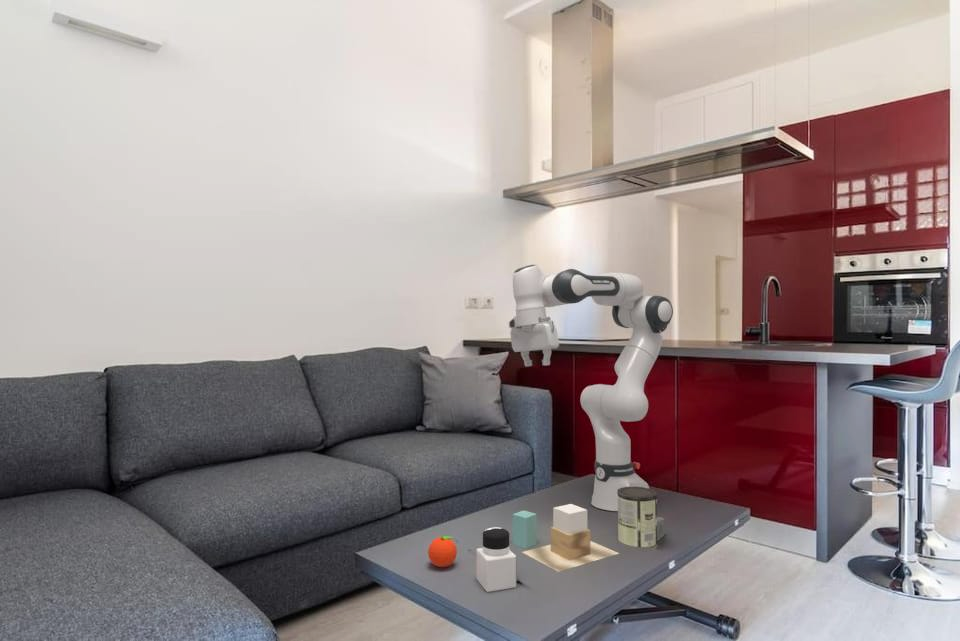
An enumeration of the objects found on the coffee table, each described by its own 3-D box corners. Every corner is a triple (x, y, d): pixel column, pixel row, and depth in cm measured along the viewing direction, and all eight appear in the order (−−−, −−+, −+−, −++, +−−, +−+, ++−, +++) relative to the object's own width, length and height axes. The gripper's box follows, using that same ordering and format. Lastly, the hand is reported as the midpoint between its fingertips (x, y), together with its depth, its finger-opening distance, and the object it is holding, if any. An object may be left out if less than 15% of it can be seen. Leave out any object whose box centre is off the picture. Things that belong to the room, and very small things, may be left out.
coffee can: (628, 534, 160) (628, 484, 160) (664, 543, 153) (663, 491, 153) (610, 544, 152) (610, 491, 152) (646, 555, 145) (646, 499, 145)
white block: (571, 523, 148) (571, 503, 148) (587, 529, 143) (587, 509, 143) (553, 527, 144) (553, 507, 145) (569, 534, 139) (569, 514, 140)
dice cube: (657, 541, 155) (657, 522, 155) (639, 537, 158) (639, 518, 158) (664, 536, 158) (664, 518, 159) (647, 532, 162) (647, 514, 162)
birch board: (580, 541, 155) (580, 536, 155) (619, 558, 143) (619, 553, 143) (521, 556, 144) (521, 552, 144) (558, 576, 132) (558, 571, 132)
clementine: (451, 557, 144) (451, 528, 144) (465, 566, 138) (465, 537, 138) (423, 564, 139) (423, 535, 139) (437, 574, 134) (437, 544, 134)
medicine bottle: (516, 587, 127) (516, 533, 127) (486, 592, 124) (486, 537, 124) (504, 574, 133) (504, 523, 134) (476, 579, 131) (475, 526, 131)
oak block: (571, 545, 148) (571, 522, 148) (590, 554, 142) (590, 530, 142) (550, 551, 144) (550, 527, 145) (569, 560, 139) (569, 535, 139)
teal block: (523, 544, 153) (523, 510, 153) (536, 548, 150) (536, 513, 150) (512, 548, 149) (512, 514, 149) (526, 553, 146) (526, 518, 146)
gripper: (561, 315, 162) (567, 363, 161) (522, 321, 180) (527, 365, 179) (542, 316, 159) (548, 366, 158) (505, 323, 177) (510, 367, 176)
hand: (537, 365), depth 169 cm, fingers open, 8 cm apart
